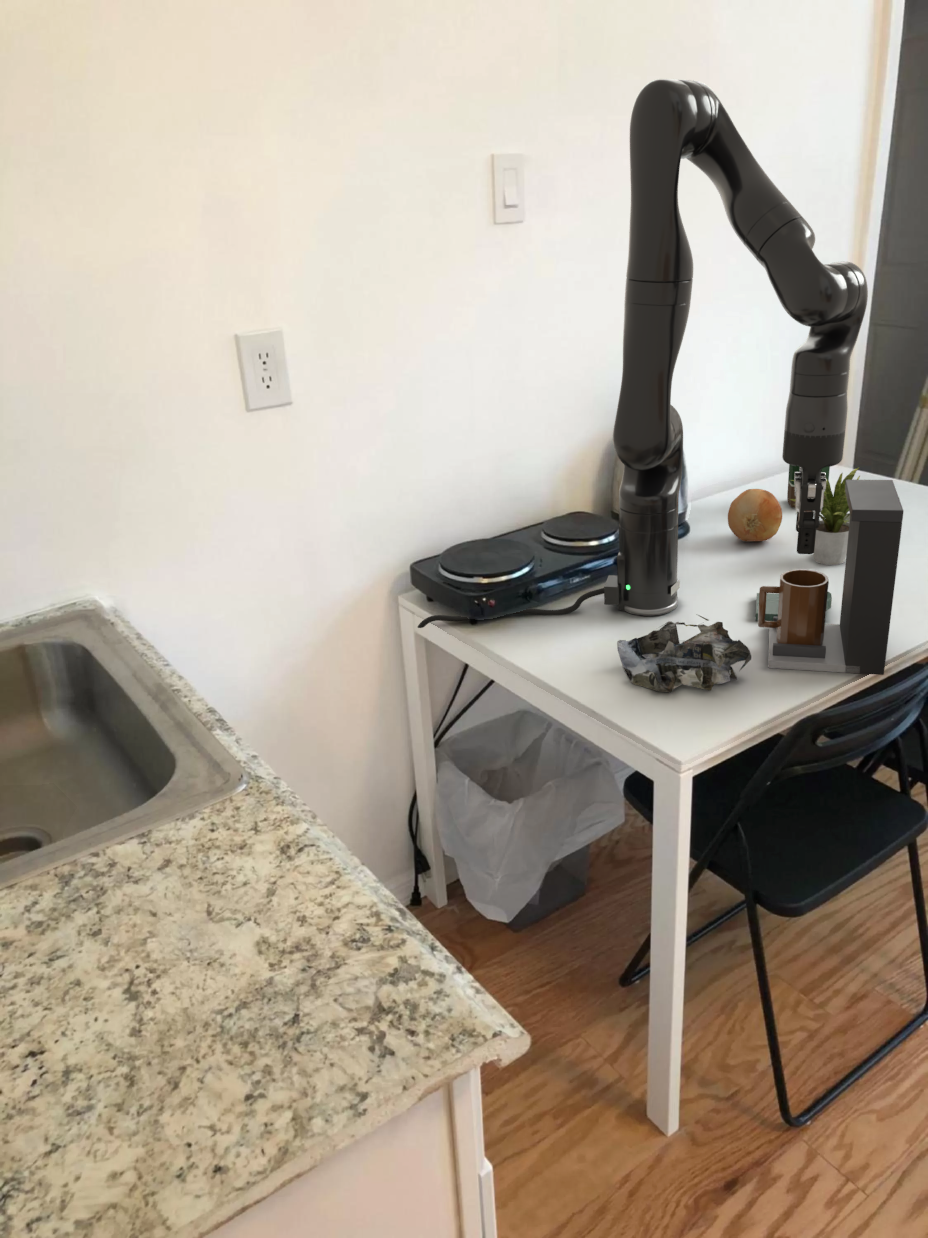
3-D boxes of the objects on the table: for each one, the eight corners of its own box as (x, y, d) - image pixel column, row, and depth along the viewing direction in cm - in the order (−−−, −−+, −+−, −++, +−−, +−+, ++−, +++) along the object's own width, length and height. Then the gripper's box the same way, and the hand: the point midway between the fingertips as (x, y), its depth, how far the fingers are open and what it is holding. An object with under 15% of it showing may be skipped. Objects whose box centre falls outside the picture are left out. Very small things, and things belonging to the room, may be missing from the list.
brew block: (755, 620, 145) (756, 602, 144) (756, 599, 152) (757, 582, 151) (831, 624, 142) (832, 606, 141) (828, 602, 149) (830, 585, 148)
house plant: (806, 537, 175) (813, 452, 168) (883, 550, 166) (893, 461, 159) (774, 562, 165) (779, 473, 158) (853, 577, 157) (862, 483, 150)
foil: (664, 624, 139) (732, 598, 126) (689, 692, 138) (760, 673, 125) (603, 644, 134) (668, 619, 121) (629, 715, 133) (697, 698, 120)
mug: (821, 632, 137) (827, 570, 133) (823, 652, 132) (829, 587, 127) (757, 629, 140) (760, 567, 136) (756, 649, 134) (760, 585, 130)
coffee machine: (768, 668, 131) (778, 508, 122) (768, 628, 143) (777, 479, 133) (883, 675, 127) (903, 510, 117) (875, 633, 138) (892, 479, 128)
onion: (728, 550, 172) (730, 499, 168) (724, 532, 181) (726, 482, 177) (783, 550, 170) (787, 497, 166) (777, 531, 179) (780, 481, 175)
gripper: (849, 440, 115) (836, 562, 122) (842, 413, 127) (831, 525, 134) (784, 440, 117) (775, 560, 124) (784, 413, 129) (776, 523, 136)
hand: (804, 542), depth 129 cm, fingers open, 8 cm apart
